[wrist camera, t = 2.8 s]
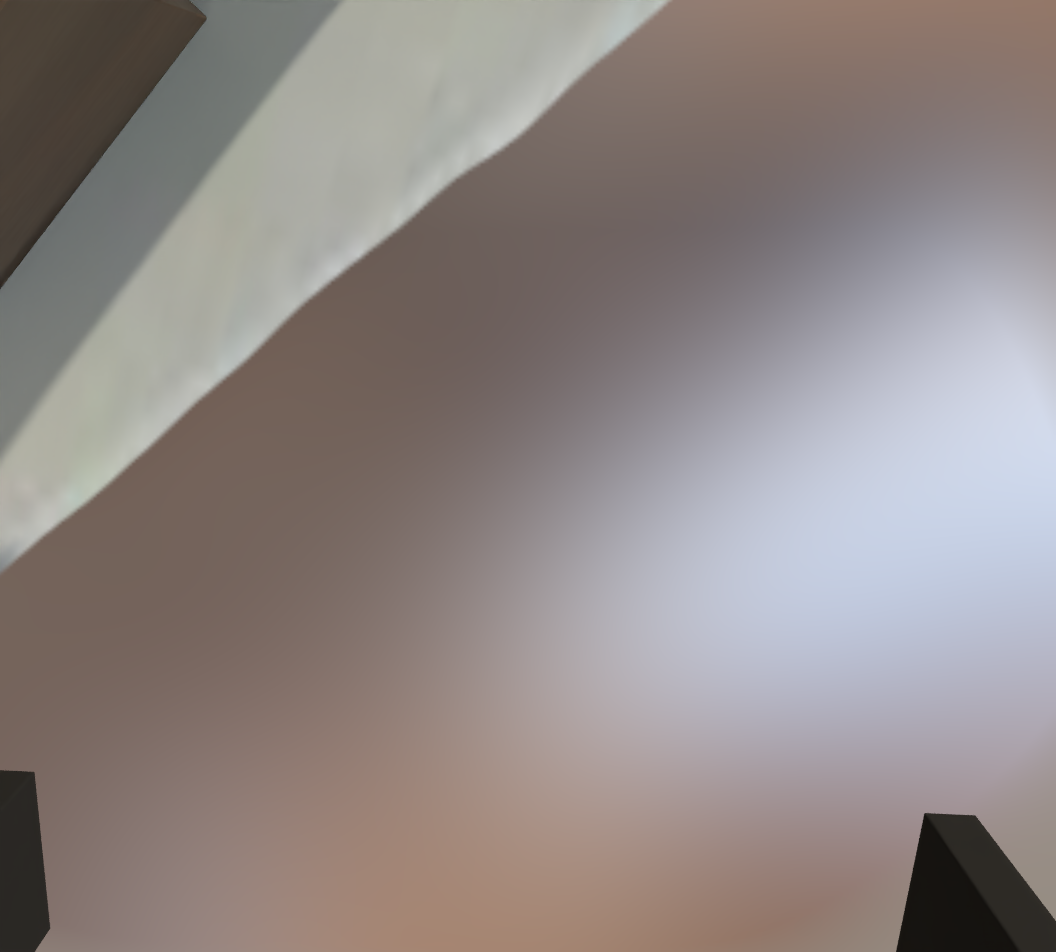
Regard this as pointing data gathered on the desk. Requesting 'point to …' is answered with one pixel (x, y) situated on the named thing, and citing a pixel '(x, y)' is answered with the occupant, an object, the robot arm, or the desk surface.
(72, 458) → the desk surface
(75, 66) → the step shelf
